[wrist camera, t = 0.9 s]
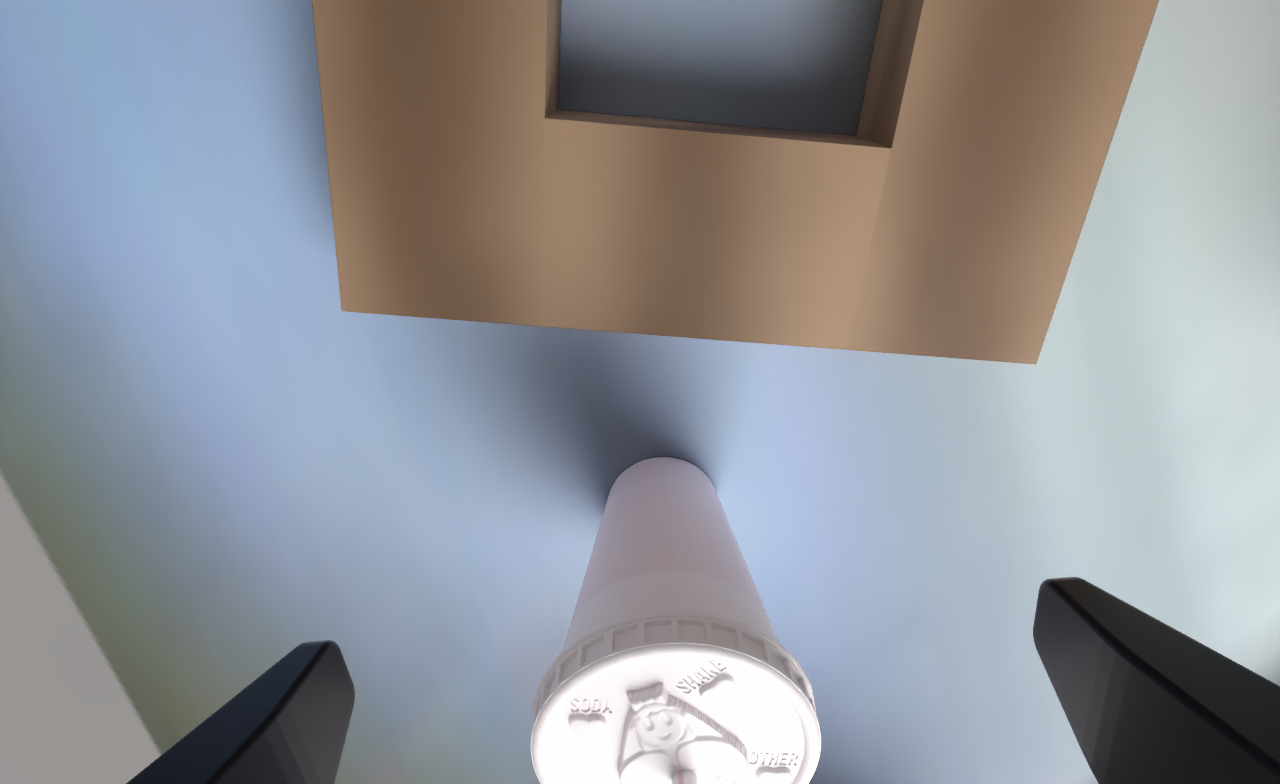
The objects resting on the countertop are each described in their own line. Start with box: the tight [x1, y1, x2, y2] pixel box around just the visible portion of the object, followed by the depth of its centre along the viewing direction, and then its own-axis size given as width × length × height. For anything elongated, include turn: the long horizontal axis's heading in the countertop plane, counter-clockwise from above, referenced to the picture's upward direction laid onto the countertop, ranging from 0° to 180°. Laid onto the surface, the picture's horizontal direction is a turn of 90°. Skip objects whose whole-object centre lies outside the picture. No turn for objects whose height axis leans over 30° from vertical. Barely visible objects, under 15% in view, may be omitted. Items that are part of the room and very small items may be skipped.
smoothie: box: [531, 457, 821, 784], centre depth 18 cm, size 6×6×14 cm
